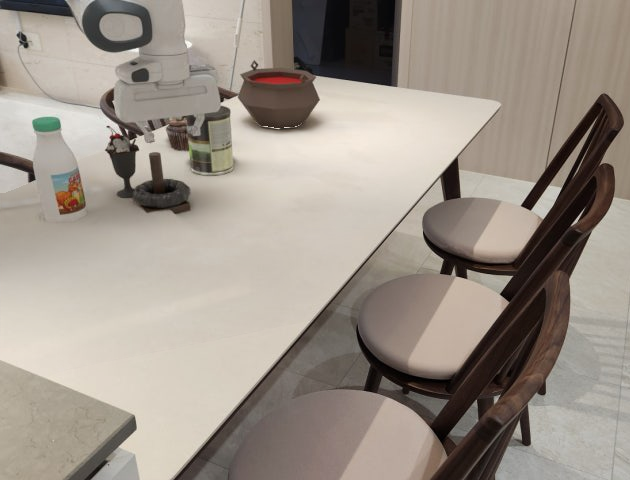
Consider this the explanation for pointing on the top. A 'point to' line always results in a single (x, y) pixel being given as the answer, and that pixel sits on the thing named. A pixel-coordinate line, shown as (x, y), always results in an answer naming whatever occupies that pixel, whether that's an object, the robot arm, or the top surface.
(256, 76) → the cauldron
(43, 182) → the milk bottle
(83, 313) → the top surface
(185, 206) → the peg stand
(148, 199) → the tire
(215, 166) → the coffee can
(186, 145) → the cupcake
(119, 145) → the sundae
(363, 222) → the top surface
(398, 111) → the top surface
